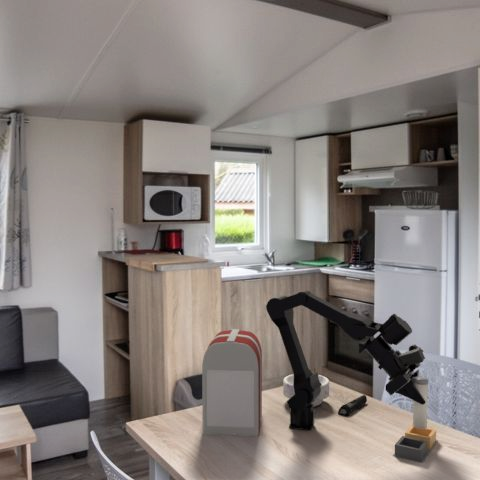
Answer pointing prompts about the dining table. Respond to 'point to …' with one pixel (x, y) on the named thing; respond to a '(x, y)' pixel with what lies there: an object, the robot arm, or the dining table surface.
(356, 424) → the dining table surface
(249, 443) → the dining table surface
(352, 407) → the electric trimmer
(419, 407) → the plug
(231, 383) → the arched-top grey box
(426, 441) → the two-tone square organizer tray
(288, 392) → the paper bowls
